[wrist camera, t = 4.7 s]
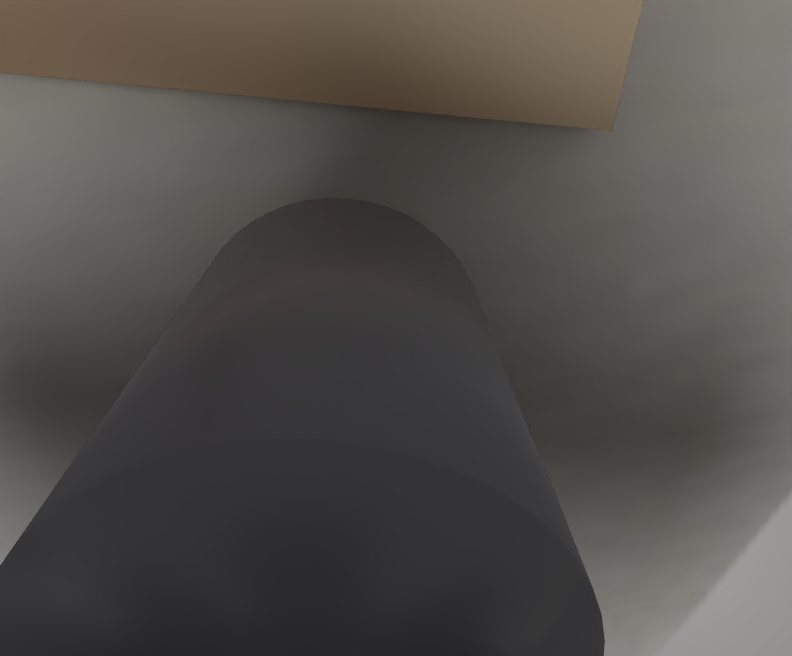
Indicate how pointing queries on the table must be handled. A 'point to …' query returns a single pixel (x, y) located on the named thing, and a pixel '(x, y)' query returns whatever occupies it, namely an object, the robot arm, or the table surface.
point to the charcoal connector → (309, 472)
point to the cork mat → (344, 51)
